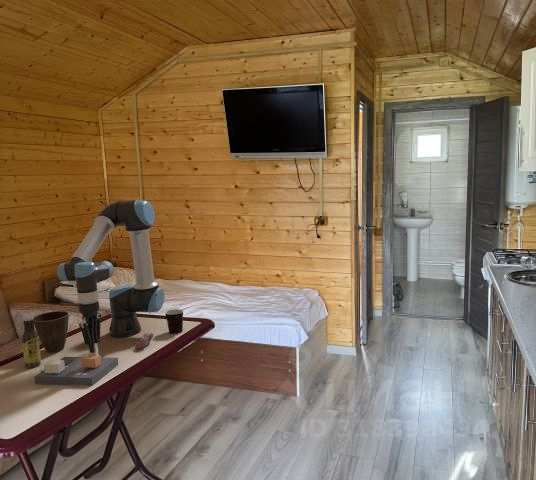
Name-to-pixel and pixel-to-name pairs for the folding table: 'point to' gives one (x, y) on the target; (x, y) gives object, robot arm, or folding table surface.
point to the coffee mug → (174, 321)
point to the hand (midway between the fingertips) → (94, 359)
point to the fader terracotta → (91, 361)
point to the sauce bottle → (30, 344)
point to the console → (77, 372)
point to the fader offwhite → (54, 366)
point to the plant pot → (52, 330)
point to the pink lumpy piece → (144, 340)
